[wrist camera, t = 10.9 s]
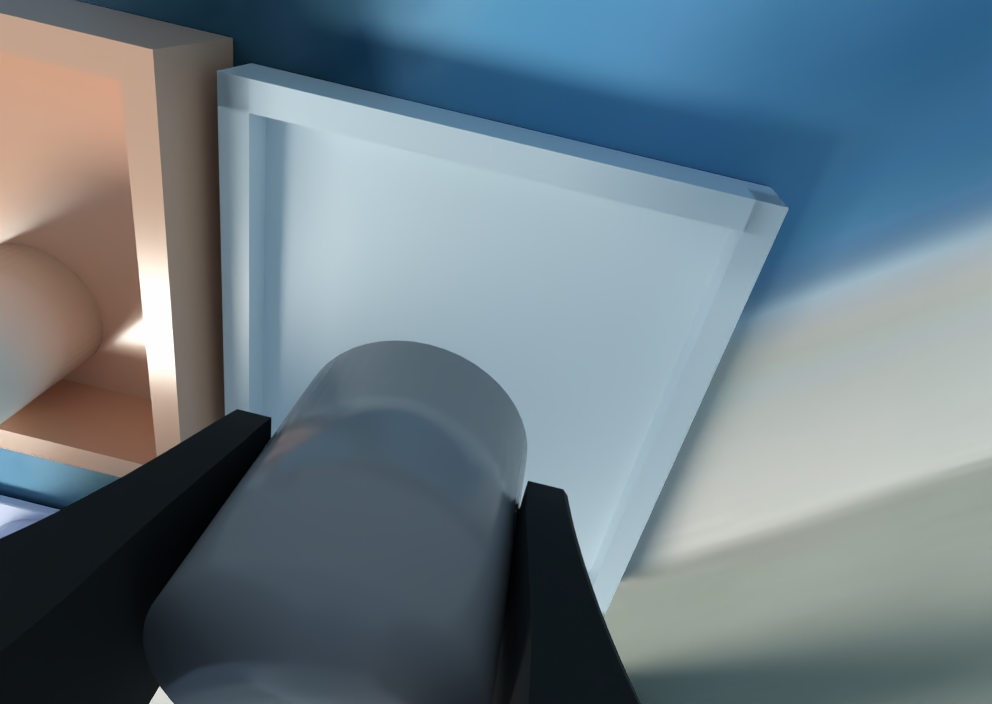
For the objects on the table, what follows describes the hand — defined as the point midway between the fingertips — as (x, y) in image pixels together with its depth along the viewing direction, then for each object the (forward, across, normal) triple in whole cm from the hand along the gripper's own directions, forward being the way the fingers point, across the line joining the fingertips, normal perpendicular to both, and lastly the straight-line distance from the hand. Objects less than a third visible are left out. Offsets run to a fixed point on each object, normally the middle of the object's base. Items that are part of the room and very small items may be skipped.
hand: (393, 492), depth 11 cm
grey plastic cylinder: (+1, 0, 0) cm, 1 cm away
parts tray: (+9, 0, +4) cm, 10 cm away
